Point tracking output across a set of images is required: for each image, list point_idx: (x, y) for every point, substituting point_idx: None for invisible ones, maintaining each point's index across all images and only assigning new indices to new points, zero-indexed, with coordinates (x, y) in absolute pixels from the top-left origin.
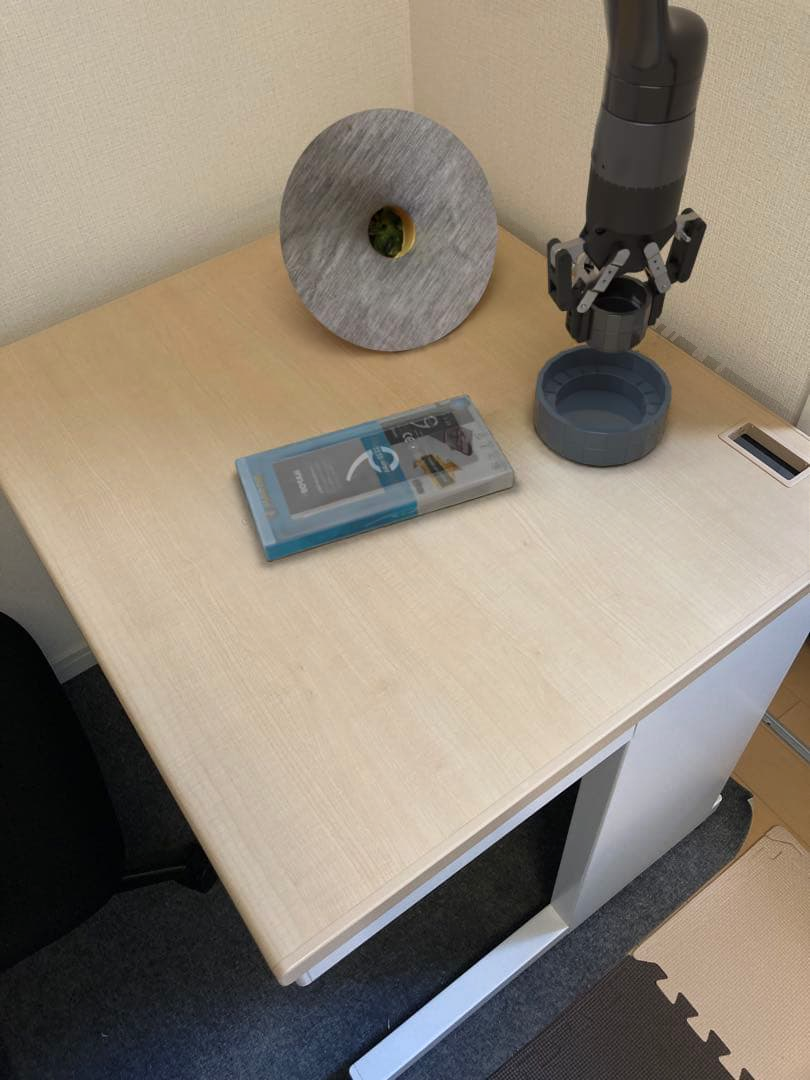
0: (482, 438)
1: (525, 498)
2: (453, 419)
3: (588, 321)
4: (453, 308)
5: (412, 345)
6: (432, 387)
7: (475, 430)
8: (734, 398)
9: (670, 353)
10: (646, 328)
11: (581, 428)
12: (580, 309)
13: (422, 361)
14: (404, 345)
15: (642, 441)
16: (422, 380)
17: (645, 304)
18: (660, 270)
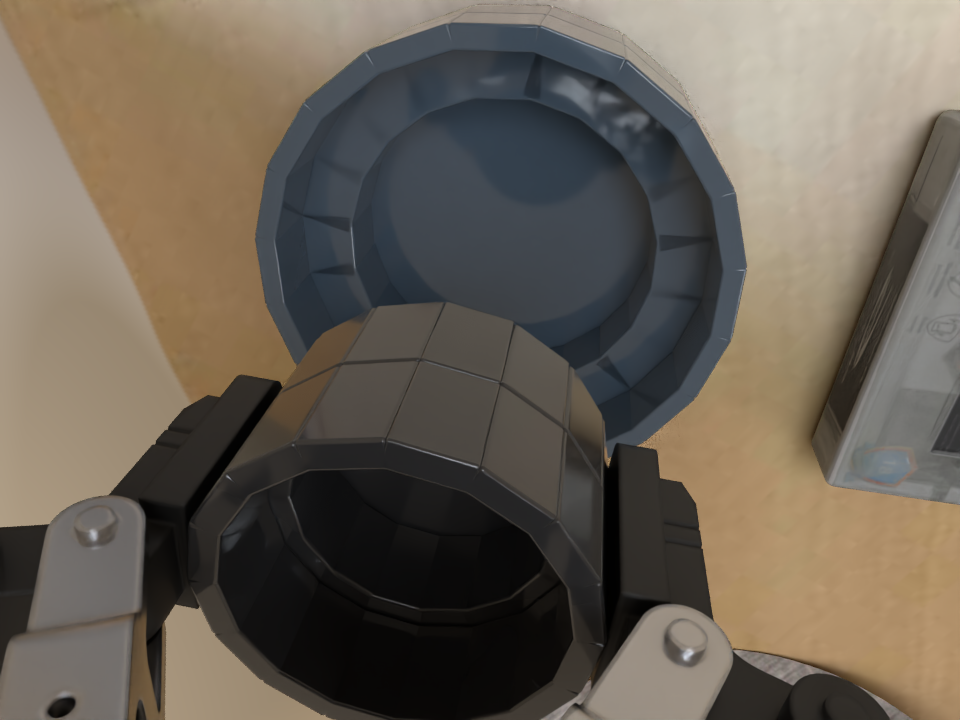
0: (942, 314)
1: (941, 40)
2: (953, 424)
3: (621, 534)
4: None
5: (773, 664)
6: (825, 545)
7: (933, 354)
8: (77, 109)
9: (183, 348)
10: (305, 360)
11: (698, 143)
12: (708, 636)
13: (781, 617)
14: (793, 673)
15: (478, 13)
16: (829, 573)
17: (273, 476)
18: (54, 676)
